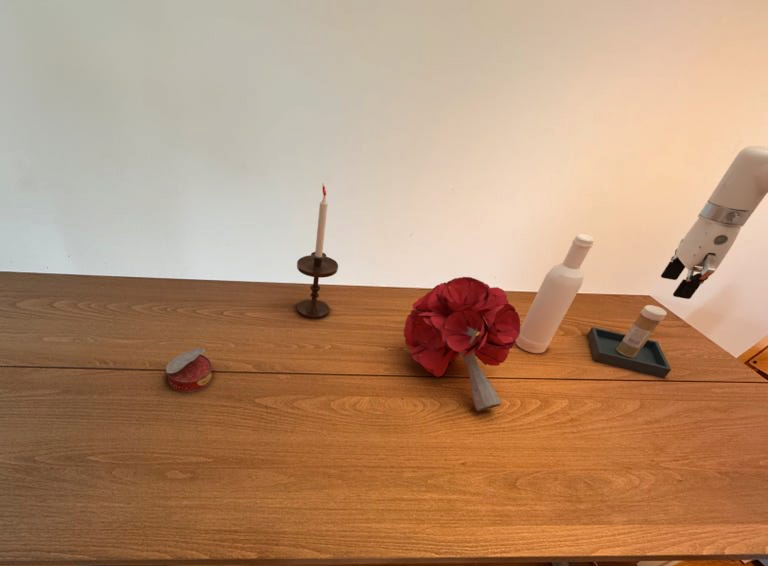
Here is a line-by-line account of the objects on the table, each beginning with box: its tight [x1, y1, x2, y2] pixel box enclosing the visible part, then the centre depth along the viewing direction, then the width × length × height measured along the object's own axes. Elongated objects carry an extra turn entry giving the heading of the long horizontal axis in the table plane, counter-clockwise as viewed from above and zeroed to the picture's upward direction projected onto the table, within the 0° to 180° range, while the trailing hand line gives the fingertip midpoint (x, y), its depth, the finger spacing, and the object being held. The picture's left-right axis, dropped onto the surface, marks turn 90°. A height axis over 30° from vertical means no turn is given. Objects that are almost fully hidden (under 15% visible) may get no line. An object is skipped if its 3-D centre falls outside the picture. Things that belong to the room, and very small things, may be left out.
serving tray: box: [586, 326, 672, 379], centre depth 109 cm, size 16×13×3 cm
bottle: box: [515, 233, 595, 354], centre depth 102 cm, size 8×8×30 cm
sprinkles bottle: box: [616, 304, 668, 358], centre depth 105 cm, size 5×5×13 cm
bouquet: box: [403, 276, 521, 412], centre depth 94 cm, size 22×24×30 cm
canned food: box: [165, 347, 213, 393], centre depth 94 cm, size 11×10×10 cm
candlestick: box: [296, 184, 339, 320], centre depth 109 cm, size 11×11×35 cm
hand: (674, 287), depth 97 cm, fingers open, 9 cm apart
